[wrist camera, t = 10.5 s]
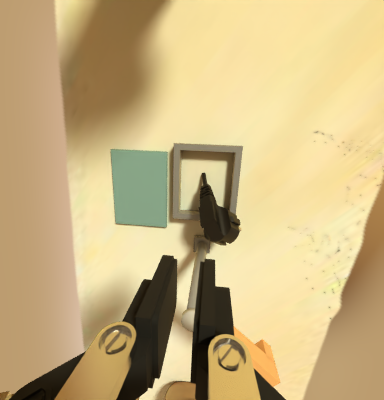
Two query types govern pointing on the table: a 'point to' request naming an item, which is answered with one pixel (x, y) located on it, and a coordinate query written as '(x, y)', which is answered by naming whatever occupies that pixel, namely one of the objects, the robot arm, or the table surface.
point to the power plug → (216, 218)
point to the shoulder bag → (181, 391)
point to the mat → (140, 187)
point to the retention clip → (258, 351)
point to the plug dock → (199, 241)
